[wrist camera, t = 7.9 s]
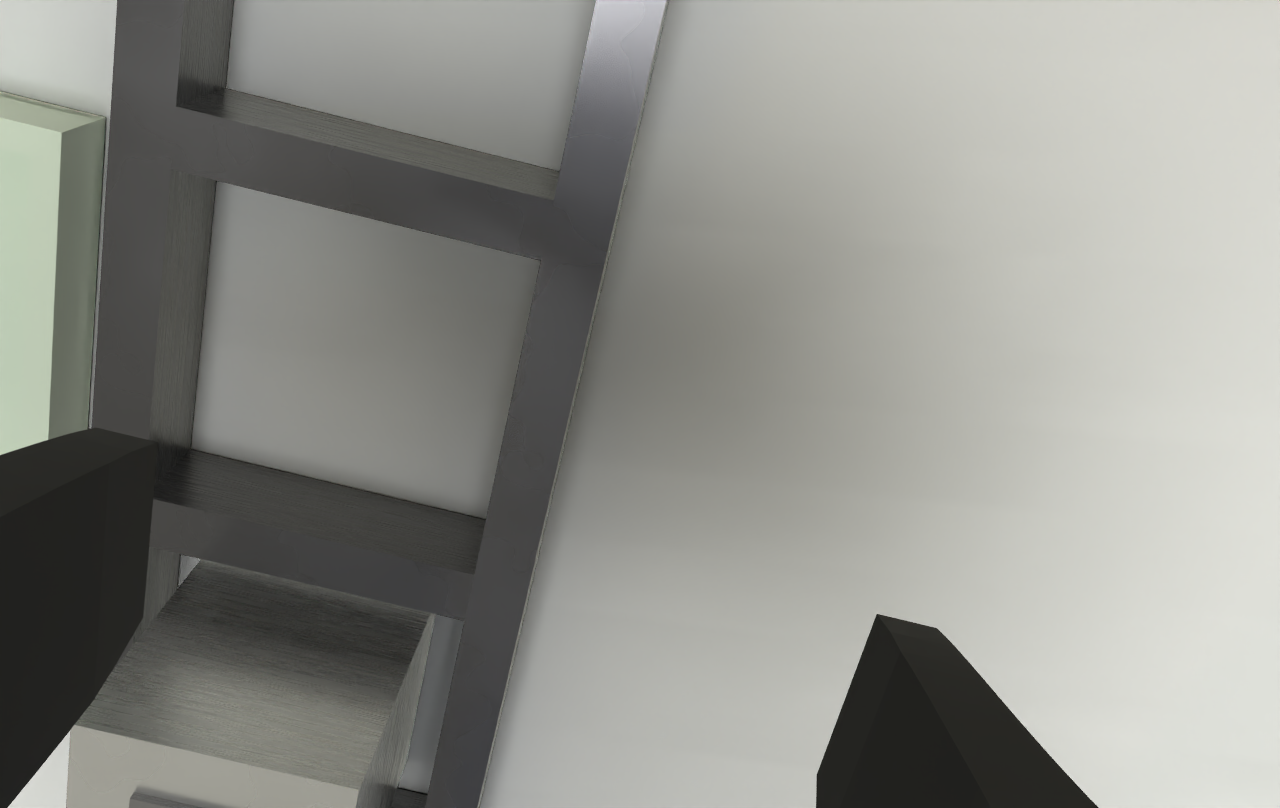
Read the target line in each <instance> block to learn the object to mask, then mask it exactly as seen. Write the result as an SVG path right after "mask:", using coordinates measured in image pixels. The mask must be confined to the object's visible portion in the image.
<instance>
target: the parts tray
mask: <svg viewBox="0 0 1280 808" xmlns="http://www.w3.org/2000/svg"><path fill="white" fill-rule="evenodd" d="M105 121H106V117H102V116H98V115H94V114H90V113H86V112H82V111H78V110H74V109H70V108H66V107H62V106H58V105H54V104H50V103H46V102H42V101H37V100H33V99H29V98H25V97H21V96H17V95H13V94H9V93H5V92H1V91H0V455H2V454H5V453H8V452H11V451H14V450H17V449H20V448H24V447H27V446H30V445H33V444H36V443H39V442H43V441H46V440H49V439H52V438H56V437H59V436H63V435H66V434H70V433H74V432H78V431H82V430H87V429H88V414H89V396H90V379H91V362H92V345H93V328H94V310H95V293H96V276H97V259H98V242H99V224H100V207H101V190H102V173H103V156H104V139H105Z"/></svg>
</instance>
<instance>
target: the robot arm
mask: <svg viewBox="0 0 1280 808" xmlns="http://www.w3.org/2000/svg"><path fill="white" fill-rule="evenodd" d="M157 448H158V442H155V441H151V440H146V439H142V438H138V437H134V436H130V435H126V434H121V433H117V432H113V431H109V430H105V429H100V428H91V429H87V430H82V431H78V432H74V433H70V434H66V435H63V436H59V437H56V438H52V439H49V440H46V441H43V442H39V443H36V444H33V445H30V446H27V447H24V448H20V449H17V450H14V451H11V452H8V453H5V454H2V455H0V808H7V807H8V806H9V805H10V804H11V803H12V801H13V800H14V799H15V798H16V796H17V795H18V794H19V793H20V792H21V790H22V789H23V788H24V787H25V785H26V784H27V783H28V782H29V781H30V779H31V778H32V777H33V776H34V774H35V773H36V772H37V771H38V770H39V768H40V767H41V766H42V765H43V763H44V762H45V761H46V760H47V758H48V757H49V756H50V755H51V753H52V752H53V751H54V750H55V748H56V747H57V746H58V745H59V743H60V742H61V741H62V740H63V738H64V737H65V736H66V735H67V733H68V732H69V731H70V730H71V728H72V727H73V726H74V725H75V723H76V722H77V721H78V720H79V718H80V717H81V716H82V715H83V713H84V712H85V711H86V709H87V708H88V707H89V706H90V704H91V703H92V702H93V700H94V699H95V697H96V696H97V694H98V692H99V691H100V689H101V688H102V686H103V684H104V683H105V681H106V680H107V678H108V676H109V675H110V673H111V672H112V670H113V668H114V667H115V665H116V664H117V662H118V660H119V658H120V657H121V655H122V653H123V652H124V650H125V648H126V646H127V645H128V643H129V641H130V639H131V638H132V636H133V634H134V633H135V631H136V629H137V627H138V626H139V624H140V622H141V621H142V619H143V614H144V602H145V590H146V579H147V567H148V555H149V543H150V531H151V519H152V508H153V496H154V484H155V472H156V460H157ZM816 808H1098V807H1097V806H1096V805H1095V804H1094V803H1093V802H1092V801H1091V800H1090V799H1089V798H1088V797H1087V795H1086V794H1085V793H1084V792H1083V791H1082V790H1081V789H1080V788H1079V787H1078V786H1077V785H1076V784H1075V783H1074V782H1073V780H1072V779H1071V778H1070V777H1069V776H1068V775H1067V774H1066V773H1065V772H1064V771H1063V770H1062V769H1061V767H1060V766H1059V765H1058V764H1057V763H1056V762H1055V761H1054V760H1053V759H1052V758H1051V756H1050V755H1049V754H1048V753H1047V752H1046V751H1045V750H1044V749H1043V747H1042V746H1041V745H1040V744H1039V743H1038V742H1037V741H1036V740H1035V738H1034V737H1033V736H1032V735H1031V734H1030V733H1029V732H1028V730H1027V729H1026V728H1025V727H1024V726H1023V725H1022V724H1021V722H1020V721H1019V720H1018V719H1017V718H1016V717H1015V715H1014V714H1013V713H1012V712H1011V711H1010V710H1009V709H1008V707H1007V706H1006V705H1005V704H1004V703H1003V702H1002V700H1001V699H1000V698H999V697H998V696H997V695H996V693H995V692H994V691H993V690H992V689H991V687H990V686H989V685H988V684H987V683H986V682H985V680H984V679H983V678H982V677H981V676H980V675H979V673H978V672H977V671H976V670H975V669H974V668H973V667H972V665H971V664H970V663H969V662H968V661H967V660H966V659H965V657H964V656H963V655H962V654H961V653H960V652H959V651H958V650H957V648H956V647H955V646H954V645H953V644H952V643H951V642H950V641H949V640H948V639H947V638H946V637H945V636H944V635H943V634H942V633H941V632H940V631H939V630H938V629H937V628H934V627H929V626H925V625H921V624H917V623H913V622H908V621H904V620H900V619H896V618H892V617H887V616H883V615H879V614H877V615H876V618H875V621H874V623H873V626H872V629H871V631H870V634H869V637H868V639H867V642H866V645H865V647H864V650H863V653H862V655H861V658H860V661H859V663H858V666H857V669H856V671H855V674H854V677H853V679H852V682H851V685H850V687H849V690H848V693H847V696H846V698H845V701H844V704H843V706H842V709H841V712H840V714H839V717H838V720H837V722H836V725H835V728H834V730H833V733H832V736H831V738H830V741H829V744H828V746H827V749H826V752H825V754H824V757H823V760H822V762H821V765H820V768H819V770H818V773H817V797H816Z"/></svg>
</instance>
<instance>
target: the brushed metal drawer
mask: <svg viewBox="0 0 1280 808" xmlns="http://www.w3.org/2000/svg"><path fill="white" fill-rule="evenodd" d="M435 617H436V614H433V613H429V612H425V611H420V610H416V609H412V608H408V607H403V606H399V605H395V604H391V603H386V602H382V601H378V600H374V599H369V598H365V597H361V596H357V595H352V594H348V593H344V592H340V591H335V590H331V589H327V588H323V587H318V586H314V585H310V584H306V583H302V582H297V581H293V580H289V579H285V578H280V577H276V576H272V575H268V574H263V573H259V572H255V571H251V570H246V569H242V568H238V567H234V566H229V565H225V564H221V563H217V562H212V561H208V560H204V559H201V560H200V561H199V563H198V564H197V565H196V566H195V568H194V569H193V570H192V571H191V573H190V574H189V575H188V577H187V578H186V579H185V580H184V582H183V583H182V584H181V585H180V587H179V588H178V589H177V590H176V592H175V593H174V594H173V595H172V597H171V598H170V599H169V601H168V602H167V603H166V604H165V606H164V607H163V608H162V609H161V611H160V612H159V613H158V614H157V616H156V617H155V618H154V620H153V621H152V622H151V623H150V625H149V626H148V627H147V628H146V630H145V631H144V632H143V633H142V635H141V636H140V637H139V639H138V640H137V641H136V642H135V644H134V645H133V646H132V647H131V649H130V650H129V651H128V652H127V654H126V655H125V656H124V658H123V659H122V660H121V661H120V663H119V664H118V665H117V666H116V668H115V669H114V670H113V671H112V673H111V674H110V675H109V676H108V678H107V680H106V681H105V683H104V684H103V686H102V688H101V689H100V691H99V692H98V694H97V696H96V697H95V699H94V700H93V702H92V703H91V704H90V706H89V707H88V708H87V709H86V711H85V712H84V713H83V715H82V716H81V717H80V718H79V720H78V721H77V722H76V723H75V725H74V726H73V727H72V728H71V730H70V748H69V765H68V783H67V801H66V808H390V806H391V803H392V800H393V798H394V795H395V792H396V789H397V787H398V784H399V781H400V778H401V776H402V773H403V770H404V767H405V765H406V762H407V758H408V753H409V748H410V743H411V738H412V733H413V728H414V723H415V718H416V713H417V707H418V702H419V697H420V692H421V687H422V682H423V677H424V672H425V667H426V662H427V657H428V652H429V647H430V642H431V637H432V632H433V627H434V622H435Z"/></svg>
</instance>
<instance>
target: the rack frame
mask: <svg viewBox="0 0 1280 808" xmlns="http://www.w3.org/2000/svg"><path fill="white" fill-rule="evenodd" d="M233 2H234V0H117V16H116V33H115V49H114V66H113V83H112V100H111V116H110V133H109V150H108V167H107V183H106V200H105V217H104V234H103V250H102V267H101V284H100V301H99V317H98V334H97V351H96V368H95V384H94V401H93V418H92V428H100V429H105V430H109V431H113V432H117V433H121V434H126V435H130V436H134V437H138V438H142V439H146V440H151V441H155V442H158V448H157V460H156V472H155V484H154V496H153V508H152V519H151V531H150V543H149V555H148V567H147V579H146V590H145V602H144V614H143V619H142V621H141V622H140V624H139V626H138V627H137V629H136V631H135V633H134V634H133V636H132V638H131V639H130V641H129V643H128V645H127V646H126V648H125V650H124V652H123V653H122V655H121V657H120V658H119V660H118V662H117V664H116V665H115V667H114V668H113V670H114V669H115V668H116V666H117V665H118V664H119V663H120V661H121V660H122V659H123V658H124V656H125V655H126V654H127V652H128V651H129V650H130V649H131V647H132V646H133V645H134V644H135V642H136V641H137V640H138V639H139V637H140V636H141V635H142V633H143V632H144V631H145V630H146V628H147V627H148V626H149V625H150V623H151V622H152V621H153V620H154V618H155V617H156V616H157V614H158V613H159V612H160V611H161V609H162V608H163V607H164V606H165V604H166V603H167V602H168V601H169V599H170V598H171V597H172V595H173V594H174V593H175V592H176V590H177V581H178V571H179V560H180V554H183V555H187V556H191V557H195V558H200V559H204V560H208V561H212V562H217V563H221V564H225V565H229V566H234V567H238V568H242V569H246V570H251V571H255V572H259V573H263V574H268V575H272V576H276V577H280V578H285V579H289V580H293V581H297V582H302V583H306V584H310V585H314V586H318V587H323V588H327V589H331V590H335V591H340V592H344V593H348V594H352V595H357V596H361V597H365V598H369V599H374V600H378V601H382V602H386V603H391V604H395V605H399V606H403V607H408V608H412V609H416V610H420V611H425V612H429V613H433V614H437V615H442V616H446V617H450V618H454V619H458V620H463V621H464V626H463V631H462V636H461V640H460V645H459V650H458V655H457V659H456V664H455V669H454V673H453V678H452V683H451V688H450V692H449V697H448V702H447V706H446V711H445V716H444V721H443V725H442V730H441V735H440V739H439V744H438V749H437V754H436V758H435V763H434V768H433V773H432V777H431V782H430V787H429V791H428V795H424V794H420V793H415V792H411V791H407V790H402V789H398V788H397V789H396V792H395V795H394V798H393V800H392V803H391V806H390V808H479V807H480V803H481V799H482V795H483V790H484V786H485V782H486V778H487V773H488V769H489V765H490V761H491V756H492V752H493V748H494V744H495V739H496V735H497V731H498V727H499V722H500V718H501V714H502V709H503V705H504V701H505V697H506V692H507V688H508V684H509V680H510V675H511V671H512V667H513V663H514V658H515V654H516V650H517V646H518V641H519V637H520V633H521V629H522V624H523V620H524V616H525V612H526V607H527V603H528V599H529V595H530V590H531V586H532V582H533V578H534V573H535V569H536V565H537V561H538V556H539V552H540V548H541V544H542V539H543V535H544V531H545V527H546V522H547V518H548V514H549V510H550V505H551V501H552V497H553V492H554V488H555V484H556V480H557V475H558V471H559V467H560V463H561V458H562V454H563V450H564V446H565V441H566V437H567V433H568V429H569V424H570V420H571V416H572V412H573V407H574V403H575V399H576V395H577V390H578V386H579V382H580V378H581V373H582V369H583V365H584V361H585V356H586V352H587V348H588V344H589V339H590V335H591V331H592V327H593V322H594V318H595V314H596V310H597V305H598V301H599V297H600V293H601V288H602V284H603V280H604V275H605V271H606V267H607V263H608V258H609V254H610V250H611V246H612V241H613V237H614V233H615V229H616V224H617V220H618V216H619V212H620V207H621V203H622V199H623V195H624V190H625V186H626V182H627V178H628V173H629V169H630V165H631V161H632V156H633V152H634V148H635V144H636V139H637V135H638V131H639V127H640V122H641V118H642V114H643V110H644V105H645V101H646V97H647V93H648V88H649V84H650V80H651V76H652V71H653V67H654V63H655V58H656V54H657V50H658V46H659V41H660V37H661V33H662V29H663V24H664V20H665V16H666V12H667V7H668V3H669V0H596V3H595V8H594V12H593V17H592V22H591V27H590V31H589V36H588V41H587V45H586V50H585V55H584V60H583V64H582V69H581V74H580V78H579V83H578V88H577V93H576V97H575V102H574V107H573V112H572V116H571V121H570V126H569V130H568V135H567V140H566V145H565V149H564V154H563V159H562V163H561V168H560V172H558V171H554V170H550V169H546V168H542V167H538V166H534V165H530V164H526V163H522V162H518V161H514V160H510V159H506V158H502V157H498V156H494V155H490V154H486V153H482V152H478V151H474V150H470V149H466V148H462V147H458V146H454V145H450V144H446V143H442V142H438V141H434V140H430V139H426V138H422V137H418V136H414V135H410V134H406V133H402V132H398V131H394V130H390V129H386V128H382V127H378V126H374V125H370V124H366V123H362V122H358V121H354V120H350V119H346V118H342V117H338V116H334V115H330V114H326V113H322V112H318V111H314V110H310V109H306V108H302V107H298V106H294V105H290V104H286V103H282V102H278V101H274V100H270V99H266V98H262V97H258V96H254V95H250V94H246V93H242V92H238V91H234V90H230V89H226V88H225V84H226V74H227V64H228V53H229V43H230V33H231V22H232V12H233ZM216 180H217V181H221V182H225V183H229V184H233V185H237V186H241V187H245V188H249V189H253V190H257V191H261V192H265V193H269V194H273V195H277V196H282V197H286V198H290V199H294V200H298V201H302V202H306V203H310V204H314V205H318V206H322V207H326V208H330V209H334V210H338V211H342V212H346V213H350V214H354V215H358V216H363V217H367V218H371V219H375V220H379V221H383V222H387V223H391V224H395V225H399V226H403V227H407V228H411V229H415V230H419V231H423V232H427V233H431V234H435V235H439V236H443V237H448V238H452V239H456V240H460V241H464V242H468V243H472V244H476V245H480V246H484V247H488V248H492V249H496V250H500V251H504V252H508V253H512V254H516V255H520V256H524V257H529V258H533V259H537V260H541V263H540V267H539V272H538V277H537V281H536V286H535V291H534V296H533V300H532V305H531V310H530V315H529V319H528V324H527V329H526V333H525V338H524V343H523V348H522V352H521V357H520V362H519V366H518V371H517V376H516V381H515V385H514V390H513V395H512V400H511V404H510V409H509V414H508V418H507V423H506V428H505V433H504V437H503V442H502V447H501V451H500V456H499V461H498V466H497V470H496V475H495V480H494V485H493V489H492V494H491V499H490V503H489V508H488V513H487V518H486V520H483V519H479V518H475V517H471V516H467V515H463V514H458V513H454V512H450V511H446V510H442V509H437V508H433V507H429V506H425V505H421V504H417V503H412V502H408V501H404V500H400V499H396V498H391V497H387V496H383V495H379V494H375V493H370V492H366V491H362V490H358V489H354V488H350V487H345V486H341V485H337V484H333V483H329V482H324V481H320V480H316V479H312V478H308V477H303V476H299V475H295V474H291V473H287V472H283V471H278V470H274V469H270V468H266V467H262V466H257V465H253V464H249V463H245V462H241V461H236V460H232V459H228V458H224V457H220V456H216V455H211V454H207V453H203V452H199V451H195V450H190V447H191V436H192V426H193V416H194V405H195V395H196V385H197V374H198V364H199V353H200V343H201V333H202V322H203V312H204V302H205V291H206V281H207V271H208V260H209V250H210V240H211V229H212V219H213V209H214V198H215V188H216ZM113 670H112V671H113ZM111 673H112V672H111ZM111 673H110V674H111Z"/></svg>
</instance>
